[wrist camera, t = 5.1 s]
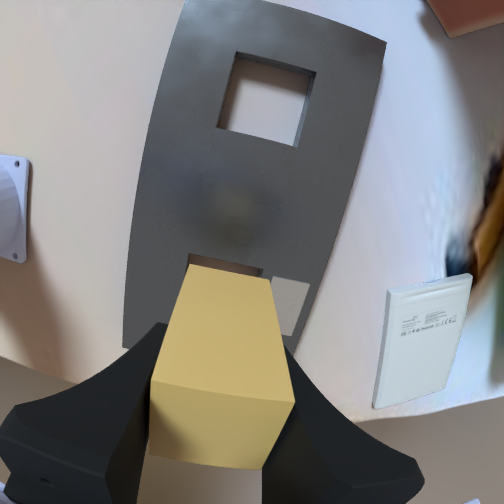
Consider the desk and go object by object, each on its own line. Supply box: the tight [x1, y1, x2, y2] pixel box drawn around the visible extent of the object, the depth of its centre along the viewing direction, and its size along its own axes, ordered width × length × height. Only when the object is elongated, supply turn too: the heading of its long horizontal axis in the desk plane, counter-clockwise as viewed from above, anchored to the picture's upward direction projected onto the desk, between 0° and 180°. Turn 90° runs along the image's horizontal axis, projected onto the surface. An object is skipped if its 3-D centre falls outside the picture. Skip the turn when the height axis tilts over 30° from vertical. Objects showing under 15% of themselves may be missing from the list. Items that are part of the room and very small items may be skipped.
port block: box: [122, 0, 387, 356], centre depth 18 cm, size 12×24×2 cm, turn 166°
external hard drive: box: [372, 273, 473, 409], centre depth 24 cm, size 2×8×12 cm
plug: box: [149, 264, 295, 470], centre depth 11 cm, size 3×3×7 cm
